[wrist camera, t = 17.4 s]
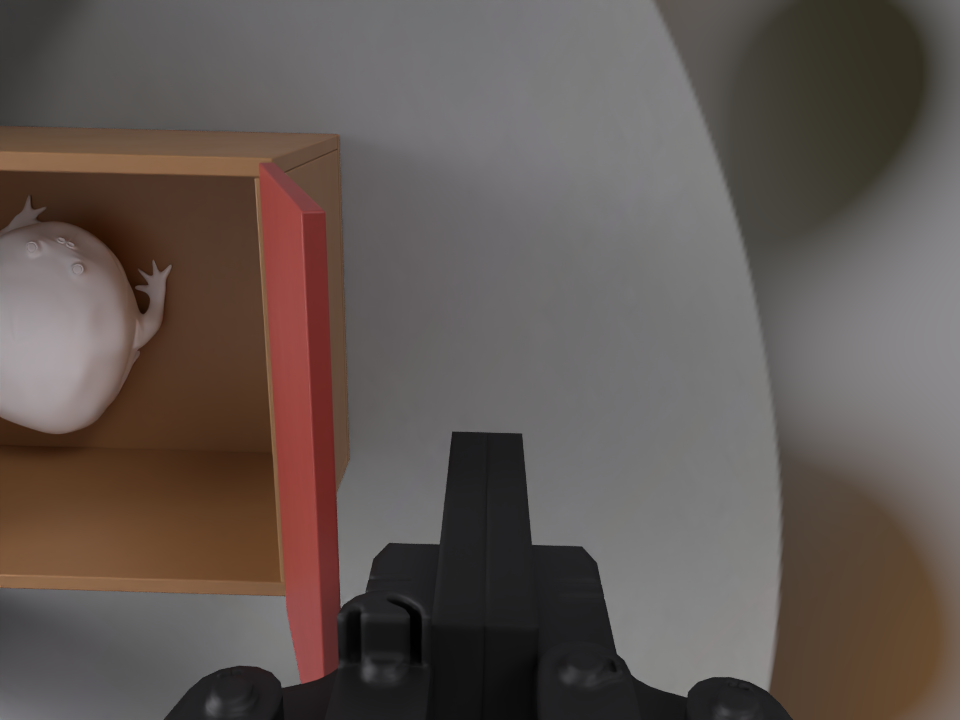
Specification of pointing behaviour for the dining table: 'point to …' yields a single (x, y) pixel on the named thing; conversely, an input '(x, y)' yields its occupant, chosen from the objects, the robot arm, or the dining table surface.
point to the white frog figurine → (66, 323)
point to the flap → (303, 415)
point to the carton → (167, 365)
